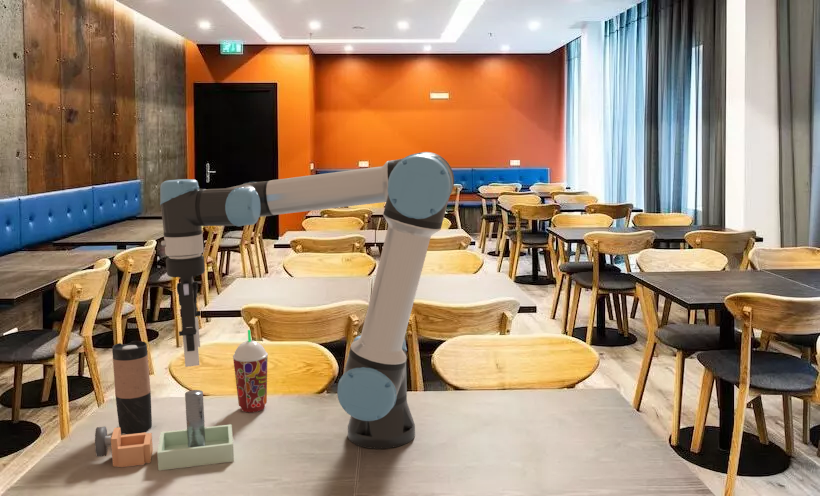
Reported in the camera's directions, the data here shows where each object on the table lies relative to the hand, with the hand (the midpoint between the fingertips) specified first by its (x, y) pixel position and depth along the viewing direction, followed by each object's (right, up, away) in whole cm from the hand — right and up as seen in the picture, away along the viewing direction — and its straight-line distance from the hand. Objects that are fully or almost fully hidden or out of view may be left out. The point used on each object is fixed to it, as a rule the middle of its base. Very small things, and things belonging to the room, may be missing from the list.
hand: (193, 356), depth 158 cm
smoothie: (+6, -17, +30) cm, 35 cm away
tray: (0, -22, +4) cm, 22 cm away
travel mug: (-19, -20, +18) cm, 33 cm away
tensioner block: (-15, -22, +2) cm, 27 cm away
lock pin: (0, -21, +3) cm, 21 cm away
